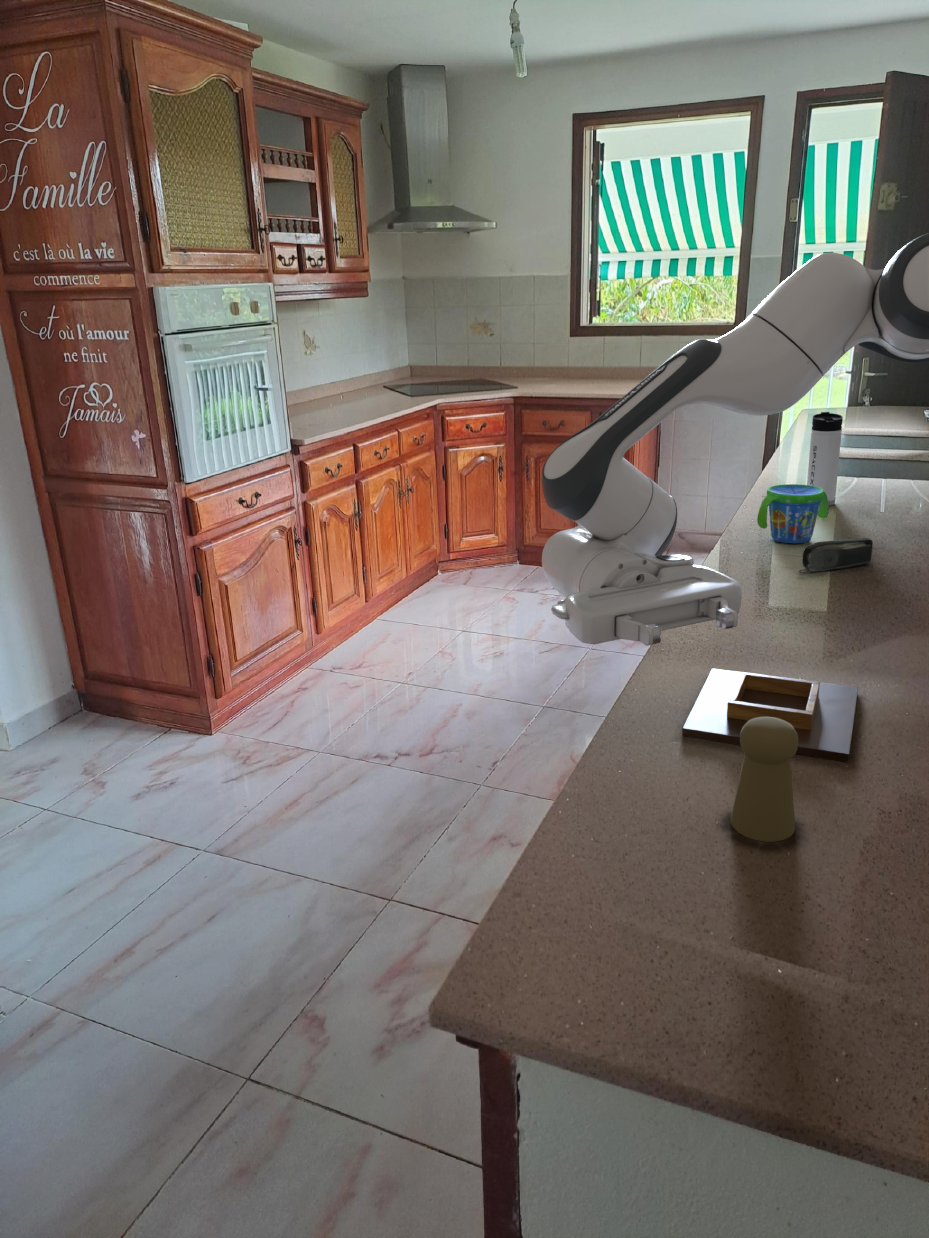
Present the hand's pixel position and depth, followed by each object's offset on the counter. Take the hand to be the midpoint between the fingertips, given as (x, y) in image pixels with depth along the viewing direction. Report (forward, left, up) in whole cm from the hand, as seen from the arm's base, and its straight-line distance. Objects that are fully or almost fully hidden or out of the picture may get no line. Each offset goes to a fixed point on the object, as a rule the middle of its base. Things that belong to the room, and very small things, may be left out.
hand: (694, 629), depth 91 cm
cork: (0, +12, -16) cm, 20 cm away
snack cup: (-68, -64, -16) cm, 95 cm away
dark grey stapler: (-62, -46, -16) cm, 79 cm away
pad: (-16, -6, -16) cm, 23 cm away
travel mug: (-93, -84, -16) cm, 126 cm away
